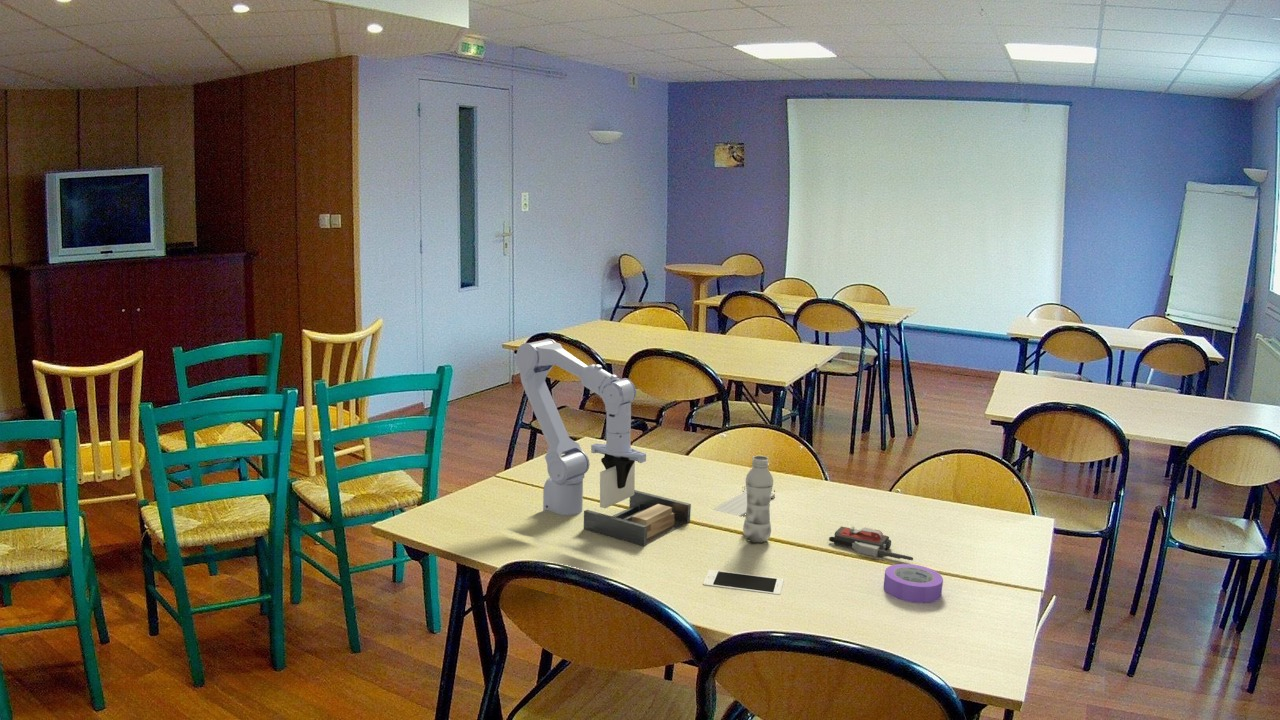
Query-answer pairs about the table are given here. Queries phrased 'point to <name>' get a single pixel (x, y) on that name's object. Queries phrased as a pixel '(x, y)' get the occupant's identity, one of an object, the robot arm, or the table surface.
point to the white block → (615, 487)
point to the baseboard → (736, 505)
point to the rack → (631, 531)
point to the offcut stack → (655, 519)
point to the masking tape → (913, 583)
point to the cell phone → (744, 582)
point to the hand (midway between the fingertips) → (617, 486)
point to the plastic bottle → (758, 501)
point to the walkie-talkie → (865, 542)
